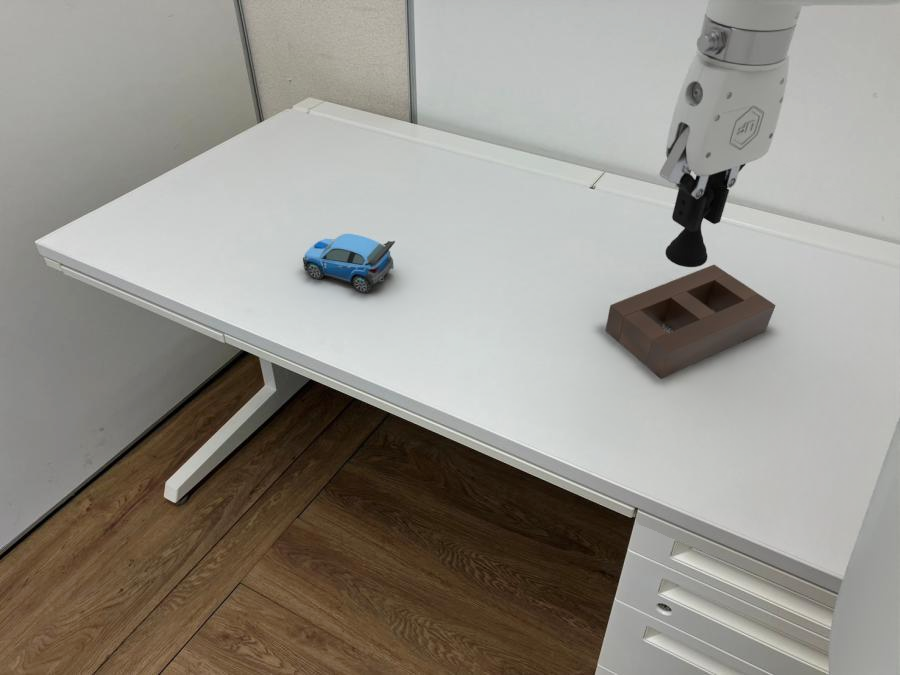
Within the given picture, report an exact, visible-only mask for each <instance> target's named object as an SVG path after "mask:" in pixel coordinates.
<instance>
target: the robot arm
mask: <svg viewBox="0 0 900 675" xmlns="http://www.w3.org/2000/svg"><path fill="white" fill-rule="evenodd" d="M898 4H900V0H708V1H707V5H706V10H705V13H704V16H703V21H702V25H701V30H700V33H699V34H700V35H699V37H698V39H697V41H696V55H694V56H693V57H692V60H691V62H690V64H689V66H688V69H687V72H686V74H685V78H684V80H683V83H682V85H681V88H680V91H679V94H678V97H677V101H676V104H675V107H674V111H673V114H672V118H671V122H670V126H669V130H668V134H667V140H666V145H665V155H666V160H665V162H664V164H663V165H662V167H661V169H660V171H659V176H660V177H661V178H663V179H664V180H666V181H667V182H670V183H672V184H674V186H675V187H676V188H677V189H678V191H677V195H676V199H675V203H674V206H673V211H672V215H671V219H672V220H673V221H674V222H675V223H677V224H678V225H679V226H681V227H683V229H684V228H686V229H687V230H689V231H690V232H694V231H697V230H698V228H699V224H700V221H701V217H702V213H703V210H704V206H705V203H706V197H705V196H703V193H704V190H705V187H706V184H707V180H708V177H709V175H710V177H711V179H712V182H710V183H708V184H707V185H709V186H711V188H712V190H713V191H714V198H713V200H712V201H711V202H710V205H711V209H710V211H709V212H708V213H707V215H706V216H705V217H704V218H703V220H706V221H708V222H709V223H710V224H713V225H716V224H719V223H720V222H721V219H722V218H723V217H722V216H723V214H724V210H725V206H726V203H727V199H728V196H729V192H730V189H731V188H732V187H734V185H735V184H736V182H737V180H738V176H739V173H740V172H741V170H742V169H743V168H744V167H745V166H746V165H747V164H749V163H751V162H755V161H757V160H760V159H761V158H763V157H764V156H765V155H766V154H767V153H768V152H769V150H770V147H771V146H772V145H771V144H772V143H773V142H772V141H773V139H774V135H775V132H776V129H777V126H778V121H779V119H780V113H781V110H782V105H783V100H784V98H785V93H786V87H787V82H788V74H789V68H790V67H789V65H790V55H789V54H788V52H789V49H790V47H791V42H792V40H793V36H794V33H795V30H796V27H797V23H798V21H799V20H798V19H799V17H800V14H801V10H802V7H811V6H889V5H891V6H892V5H898ZM692 172H693V174H694V175H695V177H694V176H693V175H692V174H691V173H692ZM862 519H863V520H862V523H861V526H860V528H859V531H858V534H857V537H856V539H855V542H854V546H853V548H852V551H851V555H850V557H849V559H848V562H847V566H846V568H845V572H844V575H843V577H842V580H841V584H840V587H839V590H838V594H837V595H836V596H837V597H836V601H835V604H834V608H833V614H832V617H831V625H830V630H829V631H830V632H829V639H828V651H827V652H828V653H827V655H828V658H827V659H828V675H900V416H899V417H898V420H897V422H896V425H895V428H894V431H893V433H892V436H891V439H890V442H889V445H888V447H887V451H886V452H885V457H884V459H883V462H882V465H881V467H880V470H879V474H878V476H877V480H876V482H875V485H874V488H873V490H872V493H871V497H870V498H869V502H868V504H867V508H866V511H865V514H864V517H863V518H862Z"/></svg>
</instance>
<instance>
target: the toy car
mask: <svg viewBox="0 0 900 675" xmlns="http://www.w3.org/2000/svg"><path fill="white" fill-rule="evenodd" d="M395 243H396V240H393V241H391V240H388V241H387V242H386V243H383V244H382V243H380V242H378V241H376V240H374V239H372V238H370V237H366V236H362V235H358V234H354V233H343V234H340V235H337V237H335V238H323V239H321V240H319V241H317V242H315V243H314V244H312V245H311V247H309V249H308V250H306V252H305V253H304V256H303V257H302V262H303V269H304V271H305V272H308V274H309V276H310V277H312V278H314V279H317V280H320V279H322V278H323V277H327V278H331V279H333V280H337V281H340V282H342V283H343V282H344V283H346V284H350V285H351V284H353V287H354V288H355V289H356V291H358V292H360V293H364V294H365V293H368V292H370V290H371V289H372V287H374V286H376V285H377V284H379V282H383V281H384V277H385V276H386V275H387V274H388V273H389V272H390V270H394V267H395V265H394V258H393V257H392V255H391V251H390V249H391V248H392V247H393V246H394V244H395Z"/></svg>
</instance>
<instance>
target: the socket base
mask: <svg viewBox="0 0 900 675" xmlns="http://www.w3.org/2000/svg"><path fill="white" fill-rule="evenodd" d="M775 308H776V304H775V303H773V302H772V301H770V300H769V299H767V298H766V297H764V296H762V294H759V293H758V292H756V291H755V290H754V289H753V288H751V287H749V286H747V285H746V284H745V283H743V282H741V281H740V280H739V279H737V278H736V277H734V276H732V275H731V274H729V273H728V272H726V271H725V270H723V269H722V268H721V267H718V266H717V265H716V264H712V265H709V266H706V267H704V268H701V269H699V270H696V271H693V272H691V273H688V274H686V275H684V276H683V275H682V276H681V277H679V278H676V279H673V280H671V281H668V282H666V283H663V284H660V285H657V286H655V287H652V288H650V289H648V290H645V291H643V292H640V293H638V294H635V295H632V296H630V297H627V298H625V299H622V300H619V301H617V302H614V303H612V304H610V305H609V311H608V315H607V320H606V325H605V332H606V333H607V334H609V335H610V336H611V337H612V338H613V339H614V340H616V341H617V343H619V344H620V345H621V346H623V347H624V348H625V350H627V351H628V352H629V353H631V354H632V355H633V356H634V357H635V358H636V359H637V360H639V361H640V362H641V363H642V364H644V366H646V367H647V369H649V370H650V371H652V372H653V373H654V375H656V376H657V377H658V378H660V379H661V380H662V379H665V378H666V377H668V376H671V375H673V374H674V373H677V372H679V371H682V370H684V369H686V368H688V367H691V366H692V365H694V364H697V363H699V362H701V361H703V360H705V359H708V358H710V357H712V356H714V355H716V354H718V353H721V352H724V351H725V350H727V349H729V348H731V347H734V346H735V345H738V344H741V343H742V342H744V341H747V340H749V339H750V338H751V339H752V338H754V337H756V336H757V335H759V334H762V333H764V332H766V331H767V328H768V326H769V324H770V321H771V319H772V316H773V314H774V311H775ZM663 324H665V325H666V326H667V327H669V328H670V329H671V330H672V331H670V332H669V331H667V329H665V328H664V327H663V326H661V325H663Z"/></svg>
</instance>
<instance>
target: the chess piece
mask: <svg viewBox="0 0 900 675" xmlns="http://www.w3.org/2000/svg"><path fill="white" fill-rule="evenodd" d="M710 182H712V179H711V177H710V175H709V177H708V180H707V184H708V183H710ZM707 184H706V187H705V190H704V193H703V196H705V197H706V203H705V206H704V210H703V213H702V217H701V221H700V224H699V228H698V230H697V231H694V232H690V231H689V230H687V229H686V228H684V227H683V230H681V232H679V233H678V235H677V236H676V237H675V238H674V239H673V240H671V242H670V243H669V245H667V247H666V248H665V252H664V253H665V256H666V258H667V259H668V260H669V261H670V262H671V263H673V264H675V265H677V266H680V267H684V268H698V267H701V266H703V265H705V263H707V261H708V253H707V247H706V245H705V243H704V242H705V241H704V237H703V233H702V224H703V220H704V217H705V216H706V215H707V213H708V212H709V211H710V209H711V205H710V202H711V201H712V200H713V198H714V191H713V190H712V188H711V186H709V185H707Z"/></svg>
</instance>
